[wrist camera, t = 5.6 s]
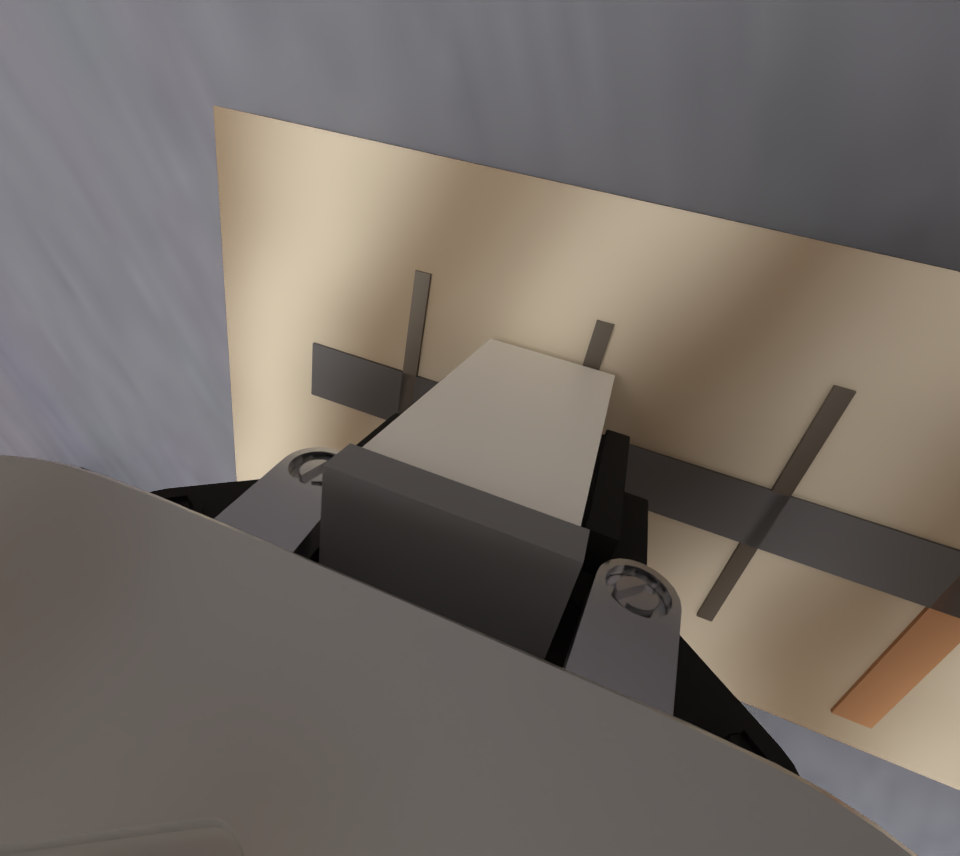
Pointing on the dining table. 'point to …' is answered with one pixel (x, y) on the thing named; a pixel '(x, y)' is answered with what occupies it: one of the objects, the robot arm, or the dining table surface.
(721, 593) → the fader console
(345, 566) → the fader tab
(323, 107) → the dining table surface
